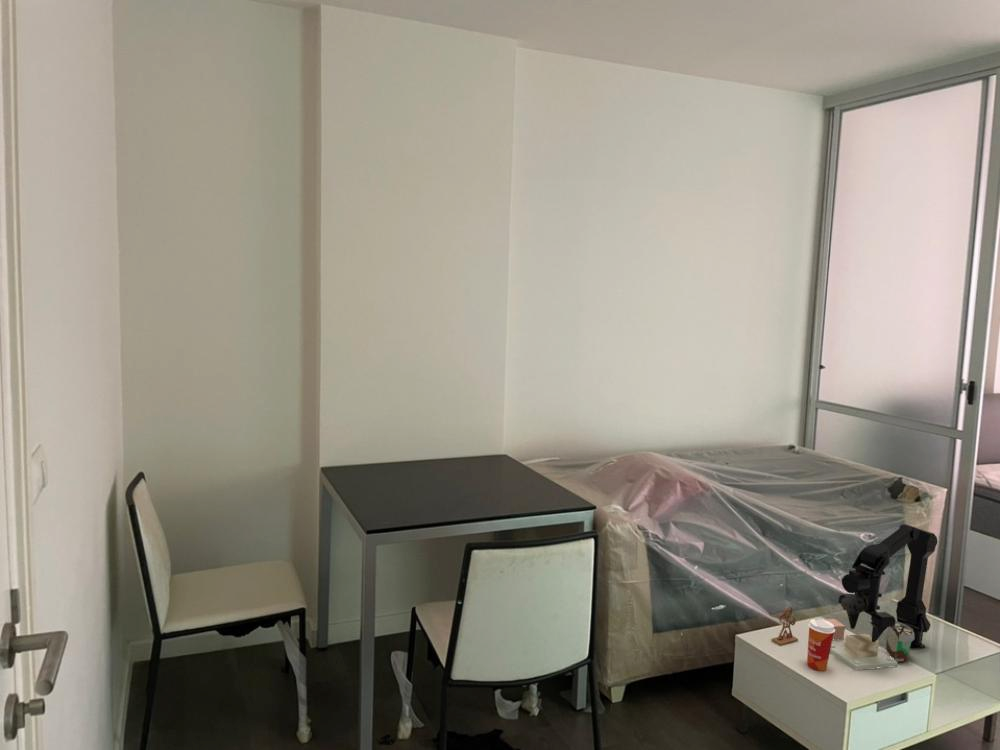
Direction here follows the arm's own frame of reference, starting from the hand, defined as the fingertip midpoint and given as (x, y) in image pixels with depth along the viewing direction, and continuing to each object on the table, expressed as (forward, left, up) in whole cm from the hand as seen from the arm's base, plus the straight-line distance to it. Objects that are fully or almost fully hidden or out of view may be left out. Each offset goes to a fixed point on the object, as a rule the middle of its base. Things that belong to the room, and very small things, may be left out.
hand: (862, 635), depth 246 cm
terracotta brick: (0, -15, -8) cm, 17 cm away
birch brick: (0, 0, -6) cm, 6 cm away
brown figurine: (+18, -14, -8) cm, 24 cm away
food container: (-14, +2, -8) cm, 16 cm away
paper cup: (+19, +3, -8) cm, 21 cm away
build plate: (0, 0, -8) cm, 8 cm away
